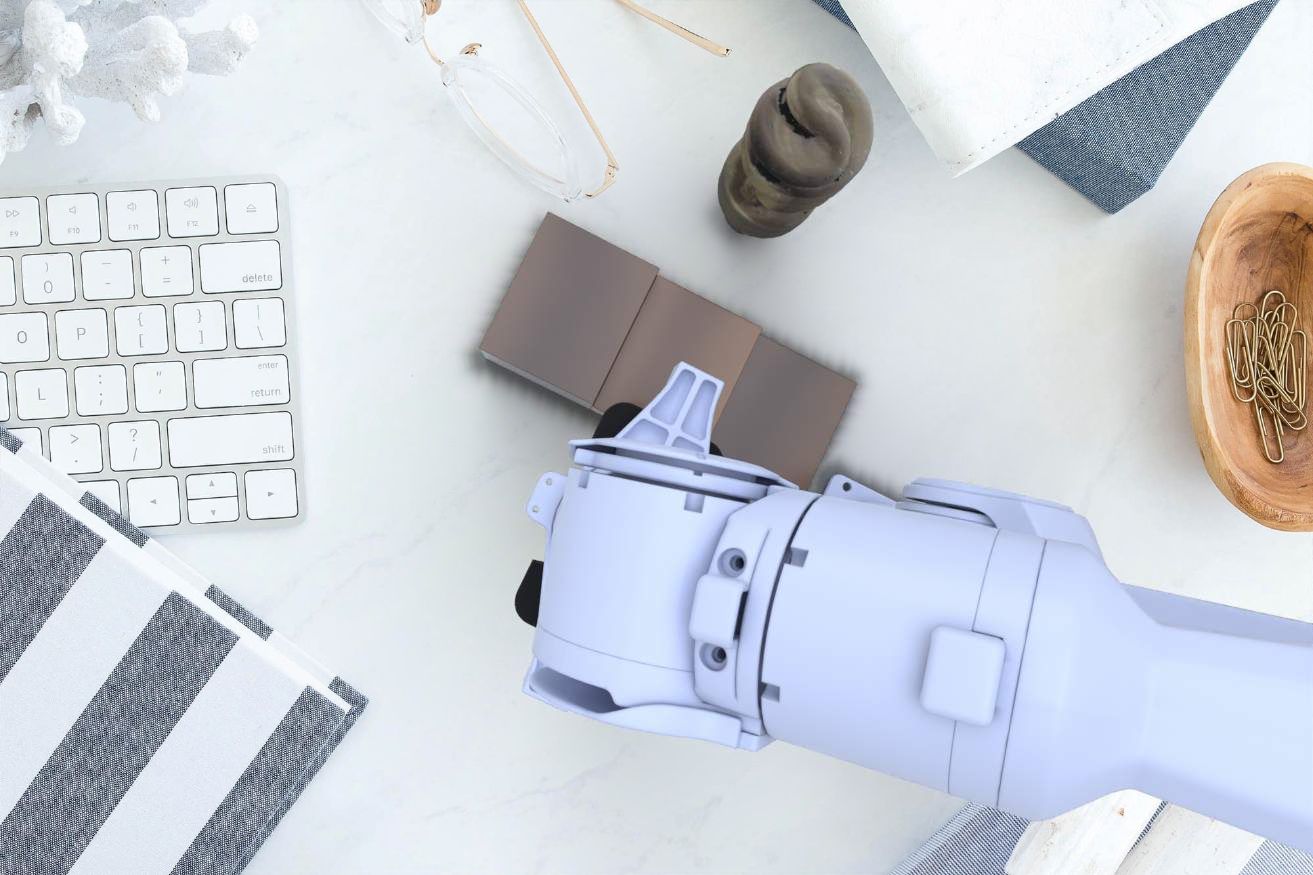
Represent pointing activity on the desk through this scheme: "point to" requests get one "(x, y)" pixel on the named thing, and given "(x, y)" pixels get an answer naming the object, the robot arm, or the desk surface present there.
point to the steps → (660, 350)
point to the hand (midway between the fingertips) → (611, 519)
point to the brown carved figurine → (796, 151)
